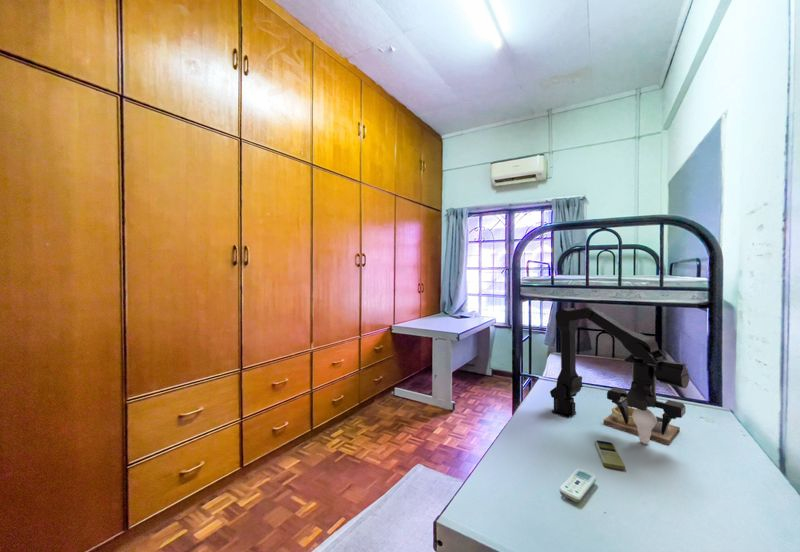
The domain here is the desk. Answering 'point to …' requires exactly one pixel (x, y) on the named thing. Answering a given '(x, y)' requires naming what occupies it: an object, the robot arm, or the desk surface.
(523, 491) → the desk surface
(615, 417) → the brass collar
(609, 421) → the walnut board
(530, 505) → the desk surface
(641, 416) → the lightbulb
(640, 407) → the robot arm
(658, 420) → the grey small collar
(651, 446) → the desk surface
